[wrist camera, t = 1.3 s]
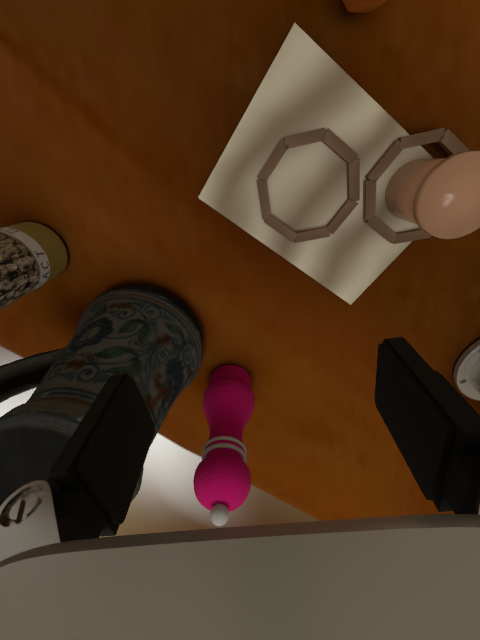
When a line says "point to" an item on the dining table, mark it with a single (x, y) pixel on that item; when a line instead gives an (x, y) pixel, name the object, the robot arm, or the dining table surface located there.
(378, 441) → the dining table surface
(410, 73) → the dining table surface
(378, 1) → the carrot
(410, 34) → the dining table surface
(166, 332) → the beer stein
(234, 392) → the pepper mill
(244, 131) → the stand
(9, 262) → the paper tube
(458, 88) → the dining table surface
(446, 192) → the pink lidded jar
